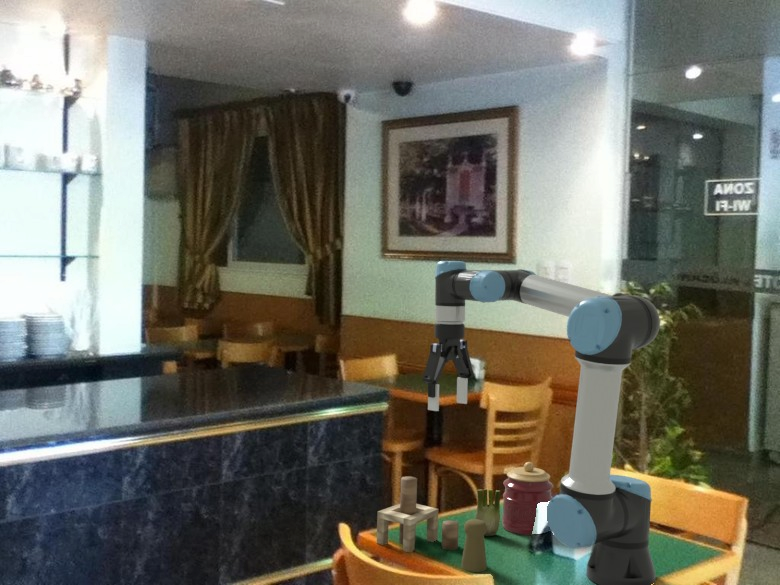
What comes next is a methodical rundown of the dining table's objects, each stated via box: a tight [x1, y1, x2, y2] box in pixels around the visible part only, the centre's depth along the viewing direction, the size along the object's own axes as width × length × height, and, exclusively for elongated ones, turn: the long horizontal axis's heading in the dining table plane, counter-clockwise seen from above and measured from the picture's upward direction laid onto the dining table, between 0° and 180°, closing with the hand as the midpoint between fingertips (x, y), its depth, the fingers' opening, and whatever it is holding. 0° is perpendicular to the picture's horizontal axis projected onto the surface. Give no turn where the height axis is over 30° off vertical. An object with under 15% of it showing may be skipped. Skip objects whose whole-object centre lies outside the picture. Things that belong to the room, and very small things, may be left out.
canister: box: [501, 461, 554, 536], centre depth 250 cm, size 13×13×18 cm
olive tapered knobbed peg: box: [460, 518, 488, 573], centre depth 220 cm, size 6×6×11 cm
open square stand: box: [376, 503, 439, 553], centre depth 236 cm, size 10×12×8 cm
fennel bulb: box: [474, 488, 501, 537], centre depth 243 cm, size 6×5×12 cm
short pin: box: [441, 520, 460, 551], centre depth 233 cm, size 4×4×6 cm
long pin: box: [398, 476, 418, 545], centre depth 236 cm, size 4×4×16 cm
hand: (447, 406), depth 239 cm, fingers open, 13 cm apart
